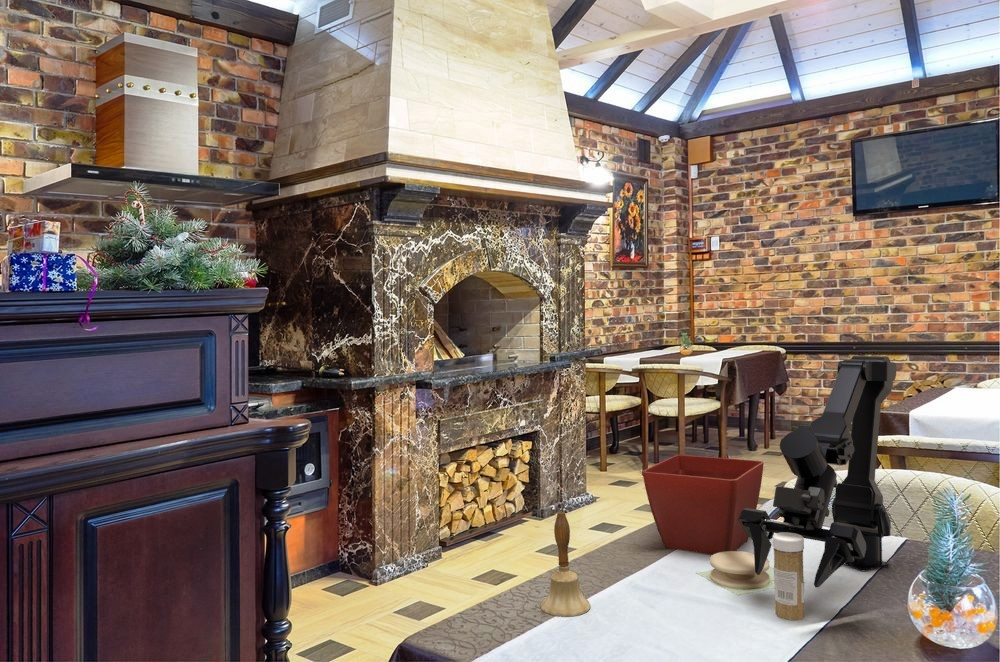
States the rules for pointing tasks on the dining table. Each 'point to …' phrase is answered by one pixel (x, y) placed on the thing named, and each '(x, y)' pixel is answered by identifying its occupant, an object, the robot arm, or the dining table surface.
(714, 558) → the bobbin
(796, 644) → the dining table surface
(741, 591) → the notched board
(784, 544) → the sprinkles bottle
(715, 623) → the dining table surface
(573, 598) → the hand bell
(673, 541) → the plant pot
